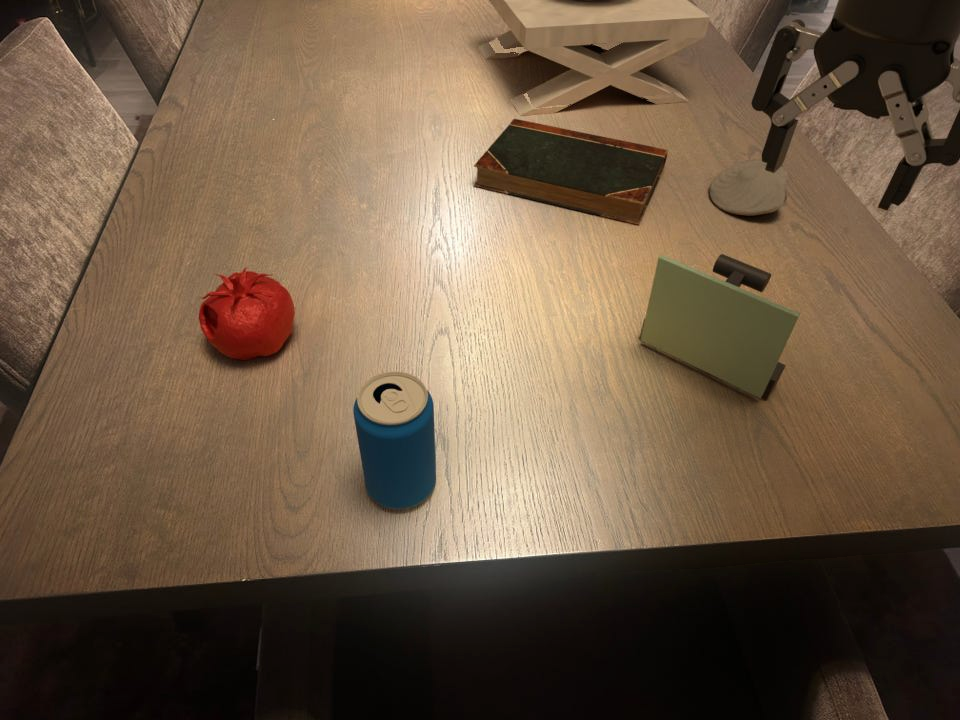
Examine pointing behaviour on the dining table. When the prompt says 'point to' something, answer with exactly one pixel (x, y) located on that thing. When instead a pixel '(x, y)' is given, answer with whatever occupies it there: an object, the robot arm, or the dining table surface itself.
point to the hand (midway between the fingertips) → (827, 186)
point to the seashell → (749, 188)
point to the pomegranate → (247, 315)
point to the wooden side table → (596, 20)
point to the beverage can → (396, 439)
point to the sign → (718, 321)
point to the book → (572, 170)
